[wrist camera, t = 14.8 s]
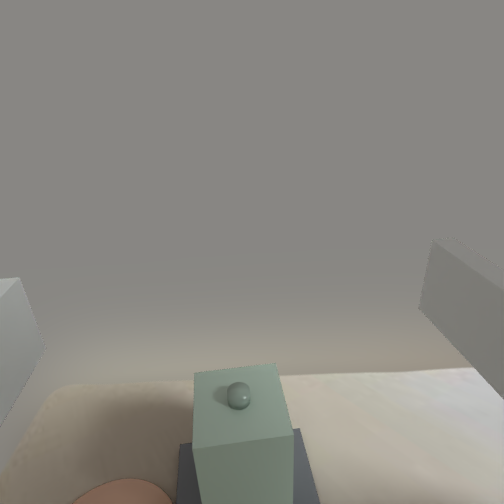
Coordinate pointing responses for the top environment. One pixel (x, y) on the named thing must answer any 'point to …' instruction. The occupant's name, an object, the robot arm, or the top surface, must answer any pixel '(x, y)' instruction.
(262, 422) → the cover
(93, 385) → the top surface
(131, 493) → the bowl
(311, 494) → the mat
